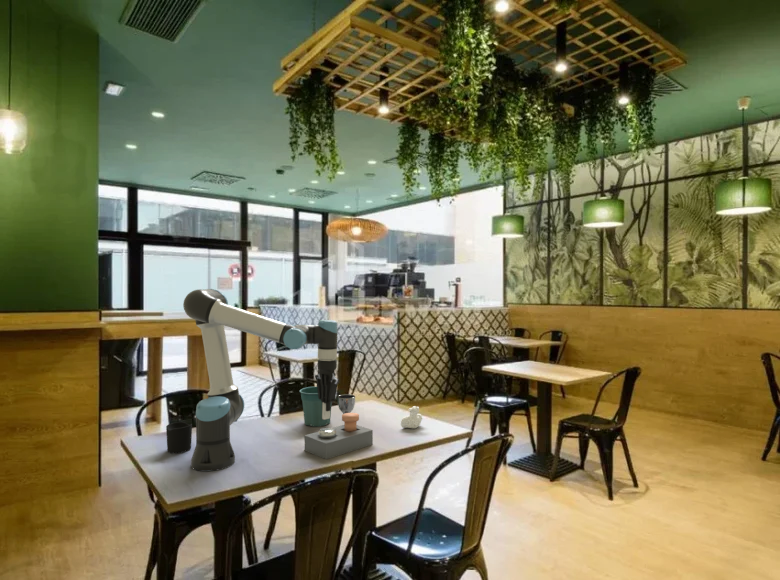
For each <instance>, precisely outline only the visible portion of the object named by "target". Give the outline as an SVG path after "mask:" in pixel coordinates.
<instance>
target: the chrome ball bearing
mask: <svg viewBox="0 0 780 580" xmlns="http://www.w3.org/2000/svg"><path fill="white" fill-rule="evenodd" d="M333 428H334V427H325V428H320V429H319V430H318V431H317V432H318V436H319V437H320V438H324V439H329V438H333V437H335V436H336V429H333Z"/></svg>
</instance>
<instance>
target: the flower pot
mask: <svg viewBox="0 0 780 580" xmlns="http://www.w3.org/2000/svg"><path fill="white" fill-rule="evenodd" d="M299 393H300V396H301V397H300V398H301V401H302V411H303V421H304V425H306V426H309V427H310V426H311V427H318V428H319V427H324V426H327V425H329V424H330V423H331V418H332V417H331V415H332V409H331V410H330V418H329V419H325V420H324V419H322V402H321V400H319V398H318V390H317V385H316V386H308V387H303V388H301V389H300V390H299ZM332 403H333V402H331V406H332Z"/></svg>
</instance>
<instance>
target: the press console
mask: <svg viewBox="0 0 780 580" xmlns="http://www.w3.org/2000/svg"><path fill="white" fill-rule="evenodd" d="M332 428H333V429H336V436H335V437H333V438H329V439H324V438H320V437H319V436H318V431H317V432H313V433H308V434H305V435H304V451H305V452H308V453H310V454H313V455H314V456H317V457H319V458H322V459H323V460H328V459H333V458H335V457H337V456H341V455H344V454H348V453H350V452H354V451H356V450H360V449H363V448H366V447H369V446H372V445H374V444H373V443H374V442H373V441H374V439H373V438H374V437H373V436H374V435H373V433H374V432H373V429H371V428H367V427H365V426H362V425H358V424H357V431H353V432H350V433H349V432H346V431H344V424H342V425H338V426H334V427H332Z"/></svg>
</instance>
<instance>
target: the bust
mask: <svg viewBox="0 0 780 580" xmlns="http://www.w3.org/2000/svg"><path fill="white" fill-rule="evenodd" d="M408 412H409V414H408V415H406V416H404V417H402V419H401V420H400V426H401V428H403V429H417V428H418V427H419V426H420V425H421V422H422V420H423V416H422V414H421V413H420V407H419V406H416V405H414V406H412V407H409V408H408Z"/></svg>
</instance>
